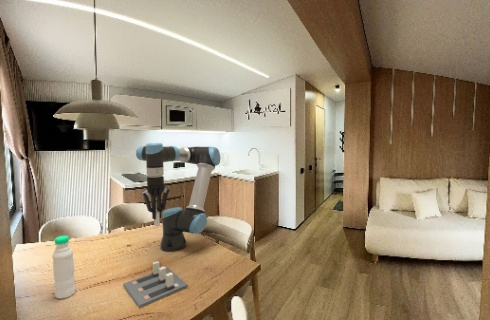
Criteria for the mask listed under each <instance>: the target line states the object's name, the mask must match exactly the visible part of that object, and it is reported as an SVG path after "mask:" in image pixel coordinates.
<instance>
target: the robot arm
mask: <svg viewBox="0 0 490 320" xmlns="http://www.w3.org/2000/svg"><path fill="white" fill-rule="evenodd" d="M219 150H220V149H218V148H217V147H216V146H215V147H214V146H190V147H181V148H178V147H177V146H173V145H170V146H164V145H163V143H162V142H149V143H146V145H143V146H142V145H141V146H138V147H137V149H136V150H135V151H136V152H135V156H136V158H137V160H139V161H144V162H146V184H147V185H146V189H145V191H143V192H141V193H140V194H141V195H142V197H143V199H144V202H145V205H146V210H147V211H148V212H149V213H151V217H152V220H153V221H154V222H153V223H154V226H155V227H160V226H161V224H160V222H161V221H162V237H161V241H160V244H159V245H160V246H159V247H160V250H162V251H165V252H176V251H181V250H183V249H185V247H186V246H187V240H186V237H185V235H184V233H189V234H192V235H194V234H201V233H202V232H203V231H204V230H205V228H206V226H207V222H208V219H207V218H208V217H207V214H206V213H205V212H206V210H205V209H204V206H205V202H206V197H207V193H208V188H209V183H210V181H211V180H210V179H211V175H212V172H213V171H215V169H216V166H219V165H220V162H221V153H220V151H219ZM168 162H180V163H183V164H184V163H186V164H193V165H196V166H197V172H196V176H195V180H194V185H193V187H192V192H191V196H190V199H189V203H188V206H186V207H185V208H184V211H183V207H179V206H178V207H171V208H167V209H166V205H167V200H168V196H169V193H170V189H169V188H167V187H166V186H165V177H164V173H165V171H164V163H168ZM149 196H150V198H151V199H150V198H149ZM150 200H151V201H150ZM163 210H164V211H163ZM160 219H161V221H160Z"/></svg>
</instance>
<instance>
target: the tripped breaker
mask: <svg viewBox="0 0 490 320" xmlns="http://www.w3.org/2000/svg"><path fill="white" fill-rule="evenodd" d="M173 273H174V272H173ZM173 273H171V272H170V273H168V274H165V276H166V285H165V288H166V289H167V290H168V289H171V288H173V287H174V283H173Z"/></svg>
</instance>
